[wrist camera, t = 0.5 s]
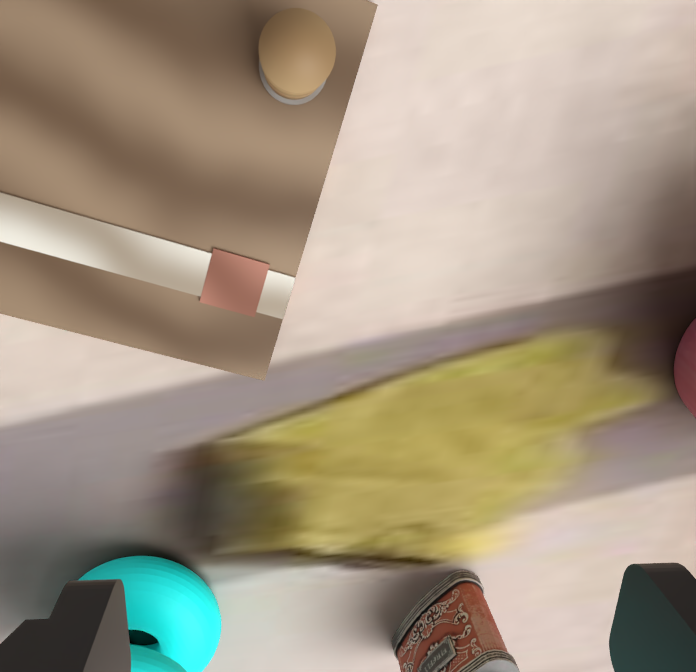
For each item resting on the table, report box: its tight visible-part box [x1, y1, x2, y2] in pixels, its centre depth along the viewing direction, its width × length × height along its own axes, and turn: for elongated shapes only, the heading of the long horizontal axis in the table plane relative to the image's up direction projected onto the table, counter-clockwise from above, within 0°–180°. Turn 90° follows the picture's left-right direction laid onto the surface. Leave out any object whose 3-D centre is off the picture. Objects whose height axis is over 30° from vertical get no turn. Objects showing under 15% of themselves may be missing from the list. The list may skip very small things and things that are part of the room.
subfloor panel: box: [0, 0, 378, 380], centre depth 31 cm, size 20×17×1 cm
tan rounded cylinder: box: [258, 8, 336, 105], centre depth 26 cm, size 3×3×8 cm
